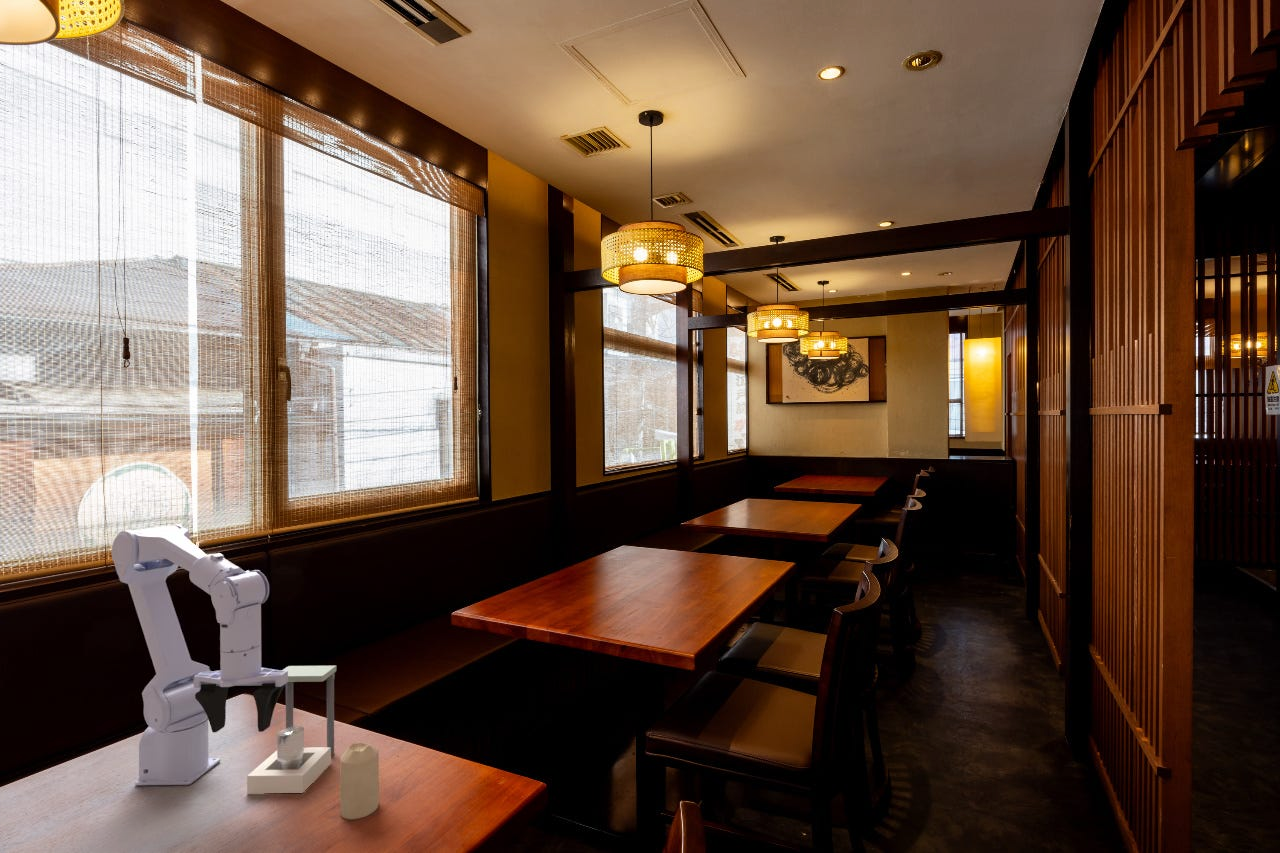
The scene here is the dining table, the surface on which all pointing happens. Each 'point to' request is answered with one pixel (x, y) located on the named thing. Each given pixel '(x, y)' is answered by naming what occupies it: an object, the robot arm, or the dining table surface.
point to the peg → (290, 748)
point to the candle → (359, 781)
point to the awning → (312, 676)
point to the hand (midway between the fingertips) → (241, 729)
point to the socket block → (289, 773)
